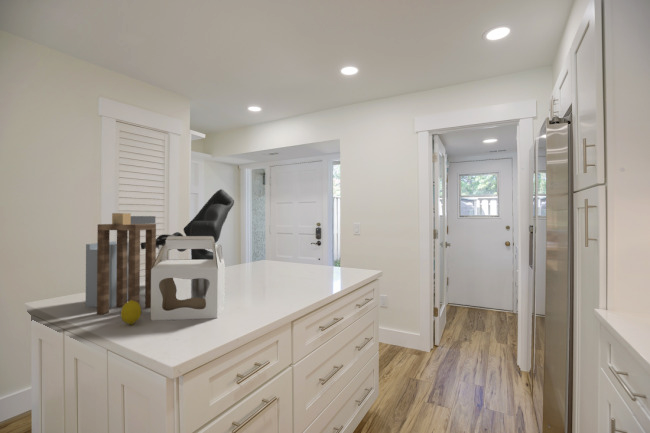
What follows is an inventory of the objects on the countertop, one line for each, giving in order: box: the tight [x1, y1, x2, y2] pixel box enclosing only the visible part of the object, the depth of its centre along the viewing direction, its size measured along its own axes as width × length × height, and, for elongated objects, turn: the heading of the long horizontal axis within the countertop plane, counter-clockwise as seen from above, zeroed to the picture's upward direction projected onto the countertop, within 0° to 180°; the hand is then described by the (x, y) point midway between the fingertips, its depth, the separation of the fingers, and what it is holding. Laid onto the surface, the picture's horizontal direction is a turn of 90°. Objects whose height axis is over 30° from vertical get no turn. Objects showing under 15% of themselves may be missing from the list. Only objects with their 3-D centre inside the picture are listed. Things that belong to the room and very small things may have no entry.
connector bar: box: [111, 212, 156, 225], centre depth 121 cm, size 4×20×4 cm, turn 177°
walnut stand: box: [96, 223, 157, 316], centre depth 117 cm, size 14×12×32 cm
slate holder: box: [85, 240, 129, 308], centre depth 127 cm, size 10×14×24 cm
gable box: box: [150, 235, 226, 321], centre depth 113 cm, size 22×13×28 cm, turn 97°
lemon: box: [120, 300, 142, 326], centre depth 101 cm, size 6×6×8 cm
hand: (152, 243), depth 133 cm, fingers open, 8 cm apart
